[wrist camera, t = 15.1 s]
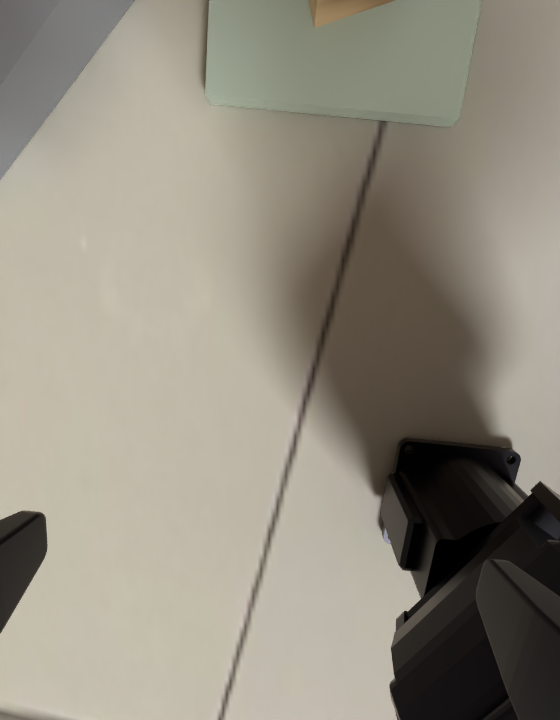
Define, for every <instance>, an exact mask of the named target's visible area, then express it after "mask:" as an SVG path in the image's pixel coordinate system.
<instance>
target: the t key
mask: <svg viewBox="0 0 560 720" xmlns="http://www.w3.org/2000/svg"><path fill="white" fill-rule="evenodd" d="M392 1H395V0H309V4H310V9H311V14H312V18H313V23H314V28H316V27H319V26H322V25H325V24H328V23H331V22H333V21H336V20H339V19H342V18H345V17H348V16H351V15H354V14H357V13H360V12H363V11H366V10H369V9H372V8H374V7H377V6H380V5H383V4H386V3H389V2H392Z"/></svg>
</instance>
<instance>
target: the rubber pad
mask: <svg viewBox="0 0 560 720" xmlns="http://www.w3.org/2000/svg"><path fill="white" fill-rule="evenodd" d="M481 2H482V0H395V1H392V2H389V3H386V4H383V5H380V6H377V7H374V8H372V9H369V10H366V11H363V12H360V13H357V14H354V15H351V16H348V17H345V18H342V19H339V20H336V21H333V22H331V23H328V24H325V25H322V26H319V27H316V28H314V23H313V18H312V14H311V9H310V4H309V0H209V13H208V37H207V61H206V84H205V95H206V97H207V99H208V101H209V103H210V104H213V105H224V106H234V107H245V108H255V109H266V110H276V111H286V112H297V113H307V114H318V115H328V116H339V117H349V118H360V119H370V120H381V121H391V122H402V123H412V124H423V125H433V126H444V127H451V126H452V125H453V124H454V123H456V122H457V121H458V120H459V119H460V114H461V109H462V104H463V98H464V93H465V88H466V82H467V77H468V72H469V66H470V61H471V56H472V50H473V45H474V40H475V34H476V29H477V24H478V18H479V13H480V8H481Z"/></svg>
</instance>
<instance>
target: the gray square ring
mask: <svg viewBox="0 0 560 720" xmlns="http://www.w3.org/2000/svg"><path fill="white" fill-rule="evenodd" d="M133 2H134V0H0V179H1V178H2V177H3V175H4V174H5V173H6V171H7V170H8V169H9V167H10V166H11V165H12V163H13V162H14V161H15V159H16V158H17V157H18V155H19V154H20V153H21V151H22V150H23V149H24V147H25V146H26V145H27V143H28V142H29V141H30V139H31V138H32V137H33V135H34V134H35V133H36V131H37V130H38V128H39V127H40V126H41V124H42V123H43V122H44V120H45V119H46V118H47V116H48V115H49V114H50V112H51V111H52V110H53V108H54V107H55V106H56V104H57V103H58V102H59V100H60V99H61V98H62V96H63V95H64V94H65V92H66V91H67V90H68V88H69V87H70V86H71V84H72V83H73V82H74V80H75V79H76V78H77V76H78V75H79V74H80V72H81V71H82V70H83V68H84V67H85V66H86V64H87V63H88V62H89V60H90V59H91V58H92V56H93V55H94V54H95V52H96V51H97V50H98V48H99V47H100V46H101V44H102V43H103V42H104V40H105V39H106V38H107V36H108V35H109V34H110V32H111V31H112V30H113V28H114V27H115V26H116V24H117V23H118V22H119V20H120V19H121V18H122V16H123V15H124V14H125V12H126V11H127V10H128V8H129V7H130V6H131V4H132V3H133Z"/></svg>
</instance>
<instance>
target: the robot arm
mask: <svg viewBox="0 0 560 720" xmlns="http://www.w3.org/2000/svg"><path fill="white" fill-rule="evenodd" d="M409 445H410V446H412V447H411V449H410V450H408V451H406V450H404V449H405V447H406V446H409ZM509 456H512V458H511V459H510V460H509V461H506V460H507V458H508V457H509ZM520 461H521V458H520V455H519V454H518V453H516V452H515V451H514V450H513V449H510V448H501V447H491V446H481V445H472V444H462V443H452V442H442V441H432V440H423V439H413V438H405V439H402V440H401V441H400V442H399V444H398V448H397V453H396V459H395V464H394V469H393V473H391V474H390V475H388V476H387V481H386V486H385V492H384V497H383V502H382V508H381V517H382V520H383V528H382V535H383V538H384V540H385V542H386V543H388V544H391V545H392V548H393V551H394V554H395V556H396V559H397V562H398V565H399V566H400V567H401V568H402V570H405V571H410V572H411V574H412V577H413V579H414V582H415V584H416V587H417V590H418V592H419V595H420V597H421V600H420V601H419V602H418V603H417V604H415V605H414V606H413V607H412V608H411V609H410V610H409V611H408V612H407V611H404V612H403V613H402V614H401V615H400V616H399V617H398V618H397V619H396V632H395V634H394V638H393V642H392V646H391V652H392V661H393V669H394V675H395V679H393V680H392V681H391V682H390V694H391V699H392V702H393V705H394V708H395V711H396V716H397V720H560V496H559V495H558V494H557V493H555V492H554V491H553V490H551V489H550V488H549V487H547V486H546V485H545V484H543V483H542V482H541V481H540V482H539V483H538V484H537V485H535V486H534V487H533V488H532V489H531V490H530V491H531V492H532V494H531V495H530V496H528V495H527V494H526V493H525V492H524V491H522V490H521V489H520V488H519V487H518V486H517V485H516V484H515V479H516V476H517V472H518V469H519V465H520ZM46 552H47V530H46V518H45V515H44V514H43V513H41V512H34V511H20V512H18V513H15V514H13V515H11V516H8V517H6V518H4V519H2V520H0V633H1V632H2V630H3V628H4V627H5V625H6V623H7V622H8V620H9V618H10V617H11V615H12V613H13V611H14V610H15V608H16V606H17V605H18V603H19V601H20V599H21V598H22V596H23V594H24V593H25V591H26V589H27V587H28V586H29V584H30V582H31V581H32V579H33V577H34V575H35V574H36V572H37V570H38V569H39V567H40V565H41V563H42V562H43V560H44V558H45V555H46Z"/></svg>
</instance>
